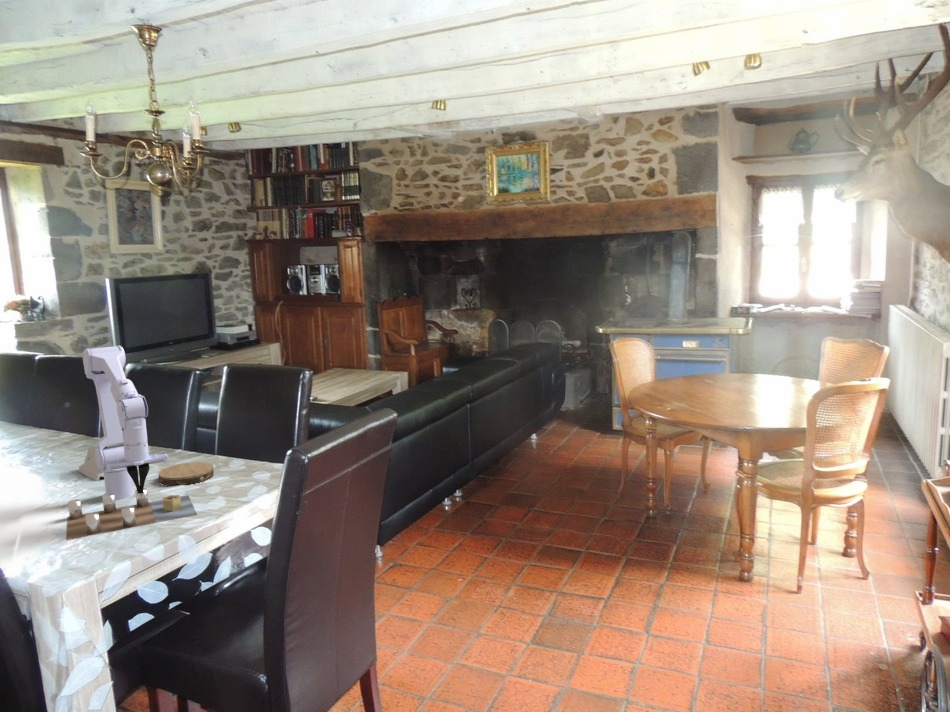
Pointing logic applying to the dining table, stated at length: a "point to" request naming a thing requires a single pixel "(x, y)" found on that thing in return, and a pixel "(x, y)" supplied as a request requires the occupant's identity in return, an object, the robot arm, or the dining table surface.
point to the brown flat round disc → (186, 474)
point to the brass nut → (171, 503)
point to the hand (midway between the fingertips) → (140, 492)
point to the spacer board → (142, 515)
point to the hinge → (91, 465)
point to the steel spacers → (107, 511)
